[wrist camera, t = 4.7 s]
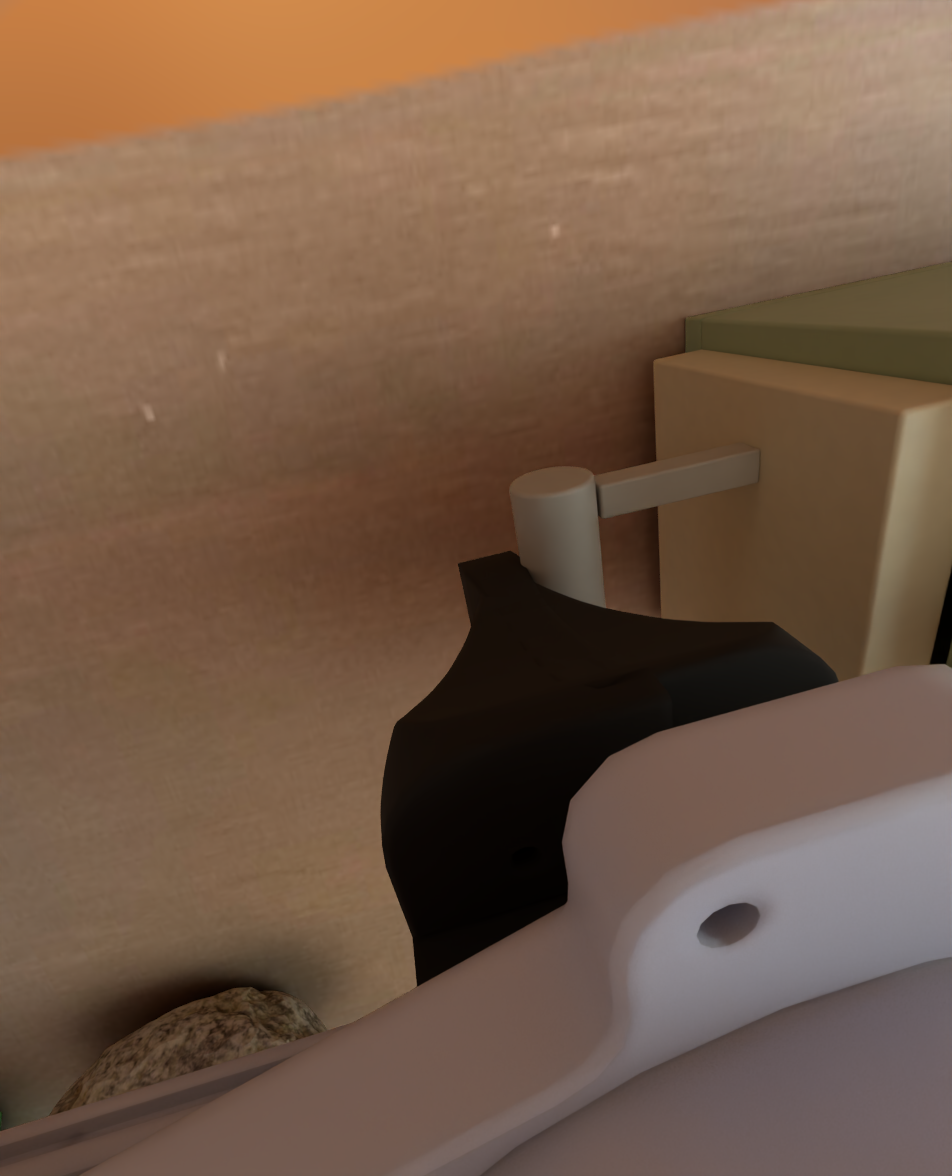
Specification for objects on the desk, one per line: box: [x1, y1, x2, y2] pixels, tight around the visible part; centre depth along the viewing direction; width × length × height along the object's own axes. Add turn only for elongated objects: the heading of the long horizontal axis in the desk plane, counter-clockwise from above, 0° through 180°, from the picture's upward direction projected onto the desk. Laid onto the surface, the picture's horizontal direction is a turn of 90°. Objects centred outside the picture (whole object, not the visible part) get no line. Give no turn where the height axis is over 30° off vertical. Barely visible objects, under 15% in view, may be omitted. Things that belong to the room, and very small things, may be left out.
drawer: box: [509, 349, 952, 682], centre depth 12 cm, size 17×7×7 cm, turn 100°
